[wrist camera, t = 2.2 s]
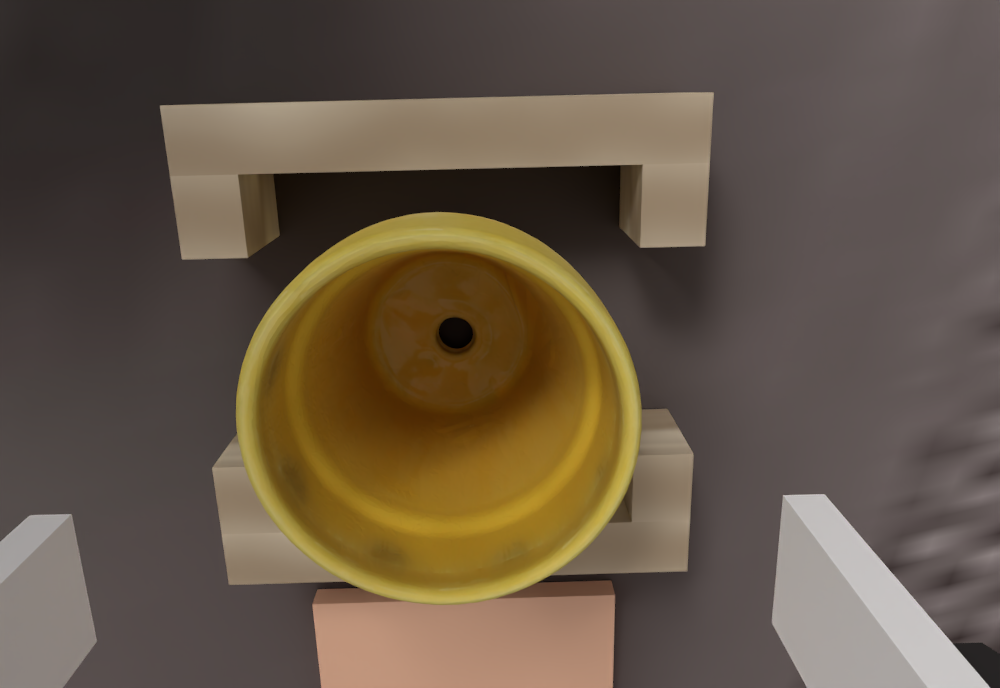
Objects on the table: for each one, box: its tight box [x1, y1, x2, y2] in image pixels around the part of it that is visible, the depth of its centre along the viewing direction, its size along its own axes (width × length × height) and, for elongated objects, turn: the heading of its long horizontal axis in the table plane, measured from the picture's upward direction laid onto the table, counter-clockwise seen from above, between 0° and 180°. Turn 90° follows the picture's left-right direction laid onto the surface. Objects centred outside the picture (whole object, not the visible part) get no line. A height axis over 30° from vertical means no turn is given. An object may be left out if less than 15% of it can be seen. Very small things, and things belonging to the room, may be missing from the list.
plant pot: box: [236, 212, 642, 605], centre depth 25 cm, size 10×10×10 cm
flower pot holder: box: [160, 92, 714, 585], centre depth 27 cm, size 16×16×4 cm
